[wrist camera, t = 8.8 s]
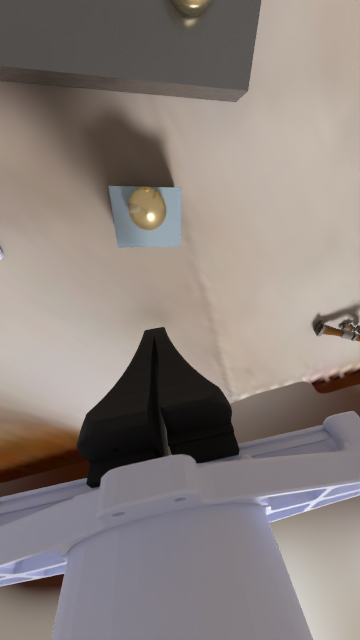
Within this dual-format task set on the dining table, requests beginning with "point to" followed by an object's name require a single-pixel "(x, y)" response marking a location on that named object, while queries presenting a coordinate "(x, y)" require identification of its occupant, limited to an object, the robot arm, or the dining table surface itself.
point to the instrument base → (131, 45)
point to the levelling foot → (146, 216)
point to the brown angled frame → (339, 331)
